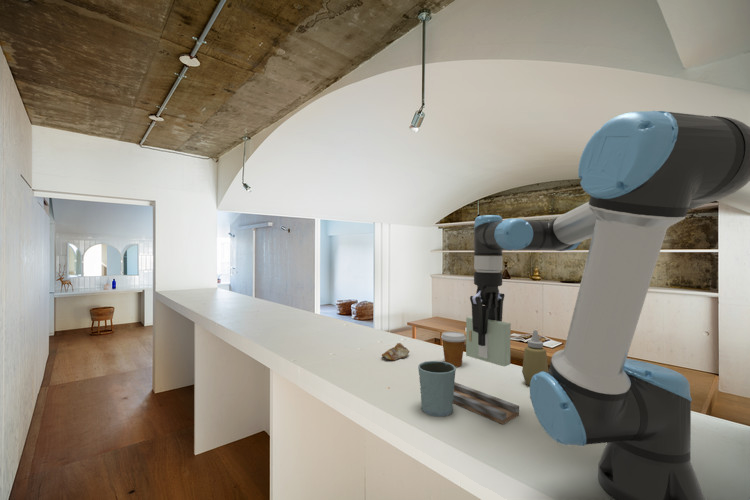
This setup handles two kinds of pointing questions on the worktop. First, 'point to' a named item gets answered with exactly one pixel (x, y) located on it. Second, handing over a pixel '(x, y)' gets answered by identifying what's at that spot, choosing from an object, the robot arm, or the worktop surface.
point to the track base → (484, 404)
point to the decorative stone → (396, 352)
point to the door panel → (490, 342)
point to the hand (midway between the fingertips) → (487, 355)
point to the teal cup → (437, 387)
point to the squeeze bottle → (534, 358)
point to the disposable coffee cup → (453, 347)
